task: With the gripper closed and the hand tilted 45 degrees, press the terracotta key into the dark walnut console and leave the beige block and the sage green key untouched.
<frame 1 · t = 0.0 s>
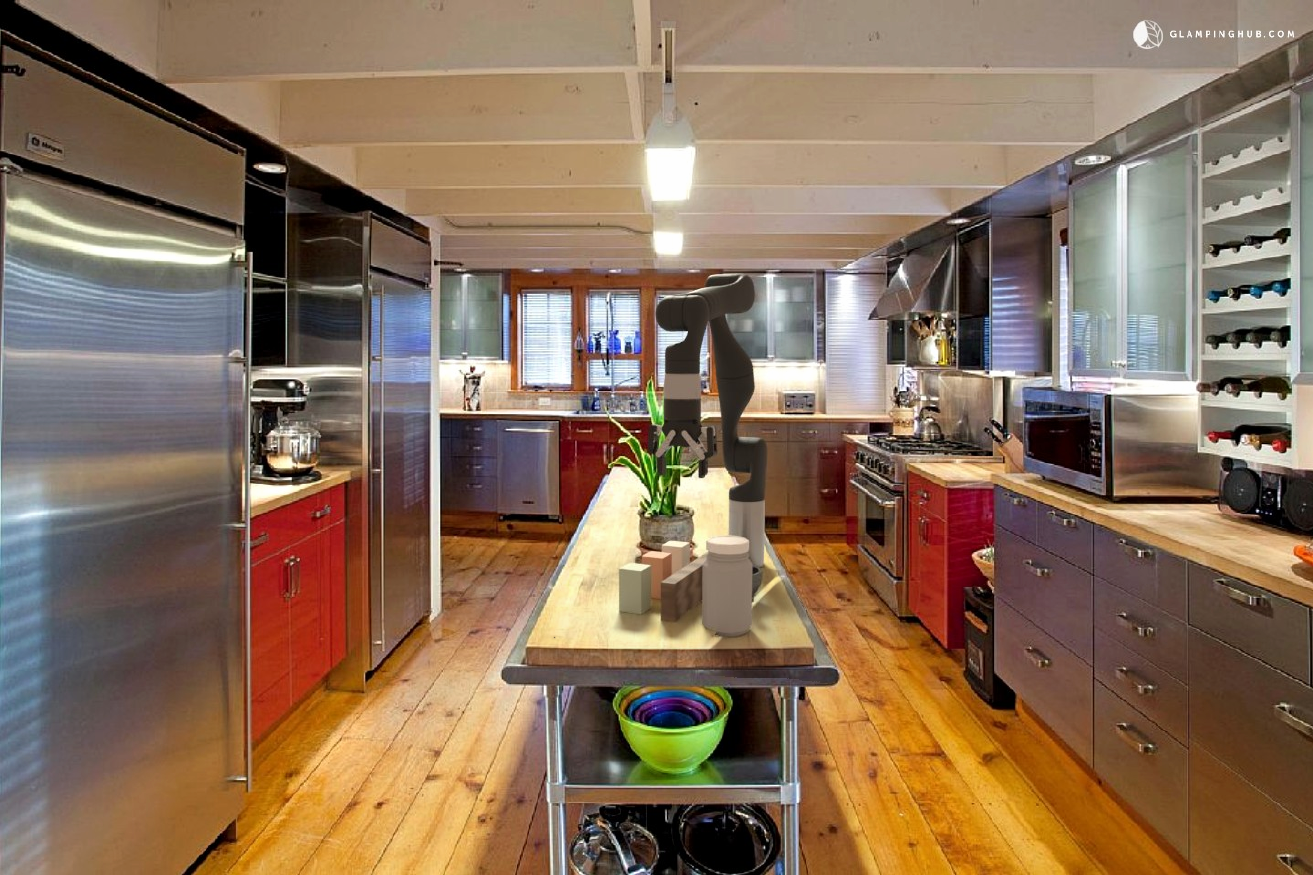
hand: (682, 476, 156), 29 cm above the table, tool pointing down, fingers open, 8 cm apart
beige block: (675, 562, 179), point 6 cm above the table, slide at 0.0 cm
terracotta key: (656, 574, 169), point 6 cm above the table, slide at 0.0 cm
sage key: (635, 588, 159), point 6 cm above the table, slide at 0.0 cm
jar: (726, 630, 151), on the table
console: (694, 605, 166), on the table
mortar and pestle: (740, 602, 169), on the table
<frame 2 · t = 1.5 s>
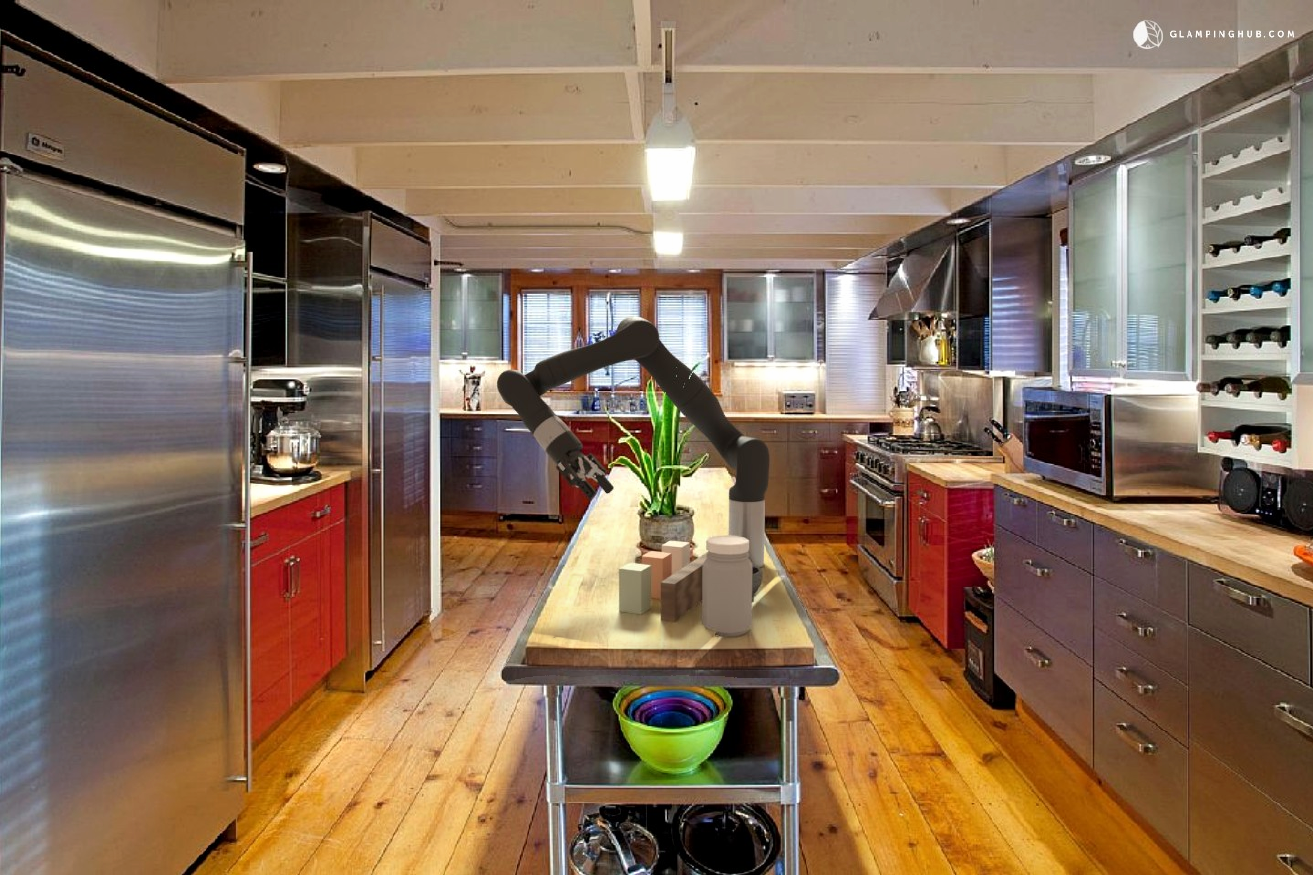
hand: (602, 493, 173), 23 cm above the table, tool tilted 45°, fingers open, 8 cm apart
nothing on the table moved.
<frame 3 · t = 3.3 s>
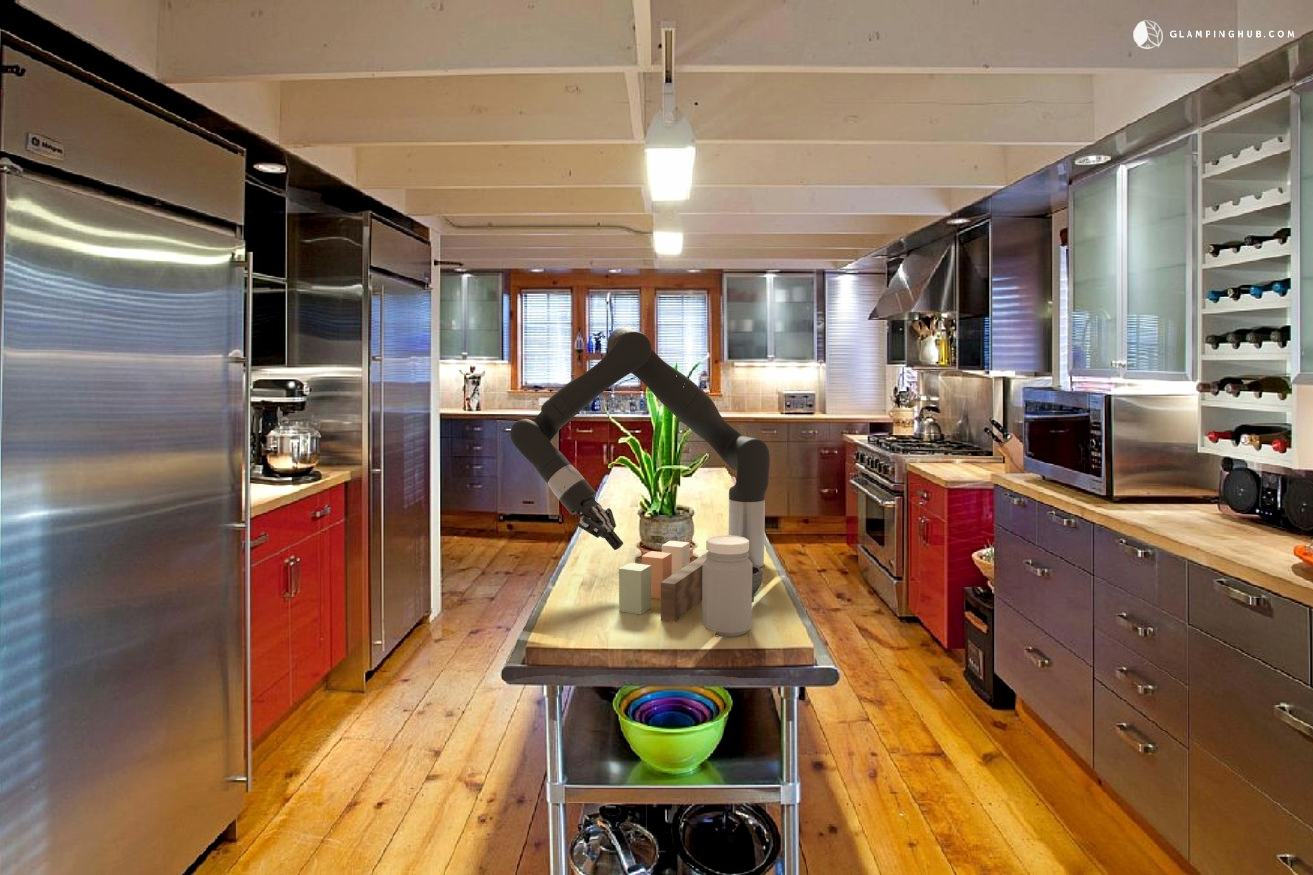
hand: (619, 547, 172), 11 cm above the table, tool tilted 45°, fingers closed
nothing on the table moved.
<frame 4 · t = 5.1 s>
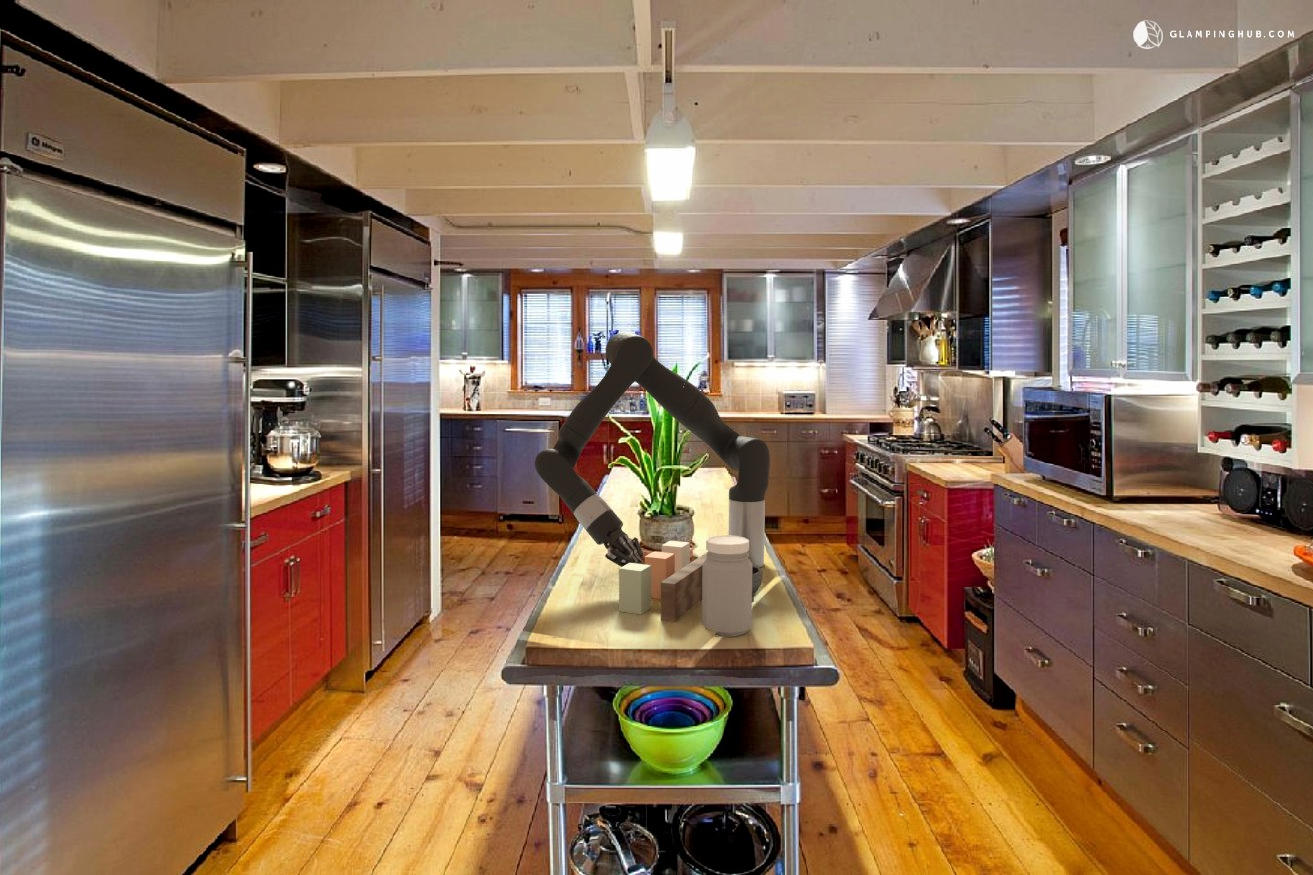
hand: (647, 577, 170), 5 cm above the table, tool tilted 45°, fingers closed
terracotta key: (659, 575, 169), point 6 cm above the table, slide at 0.8 cm, touching gripper
everything else where it was.
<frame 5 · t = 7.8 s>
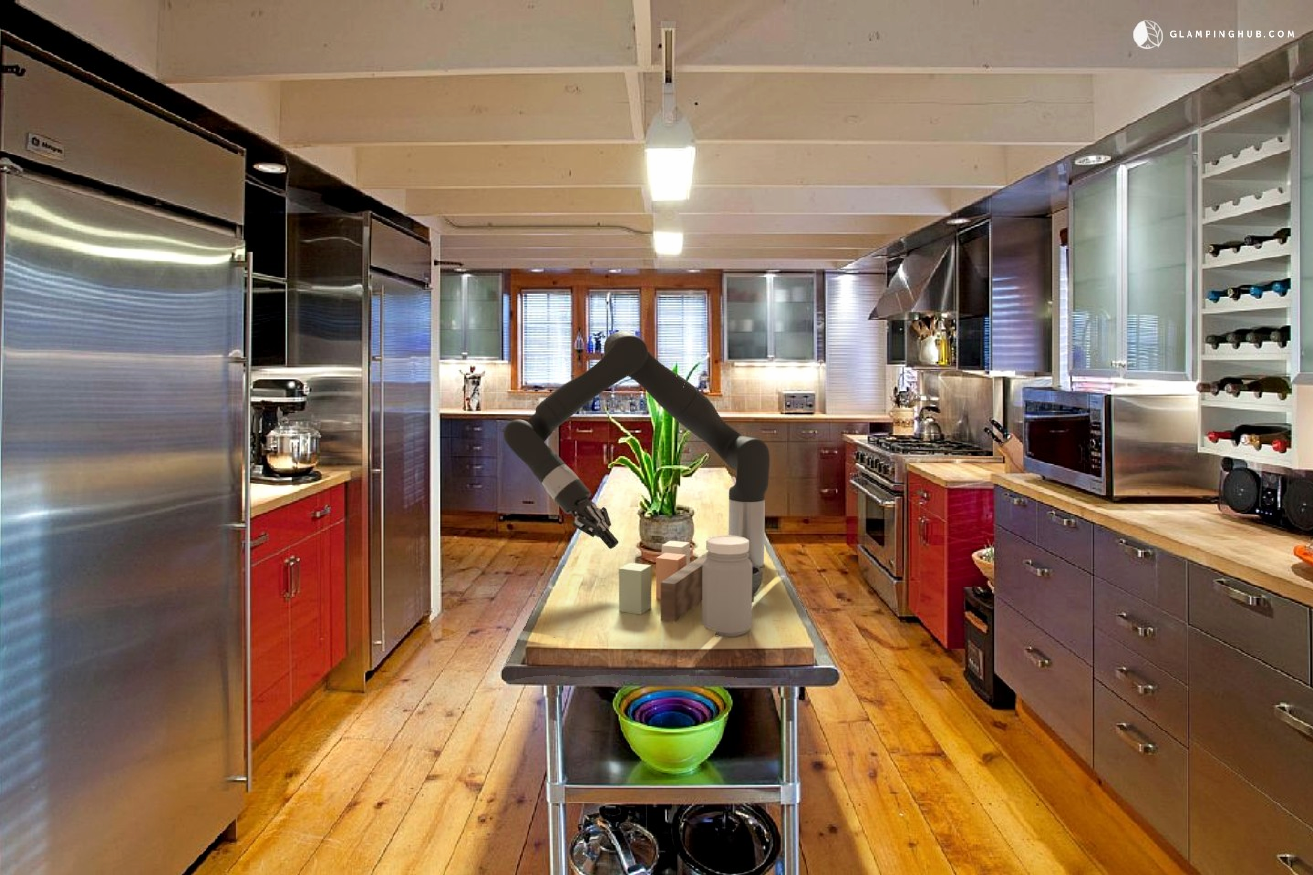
hand: (614, 545, 173), 11 cm above the table, tool tilted 45°, fingers closed
terracotta key: (671, 576, 168), point 6 cm above the table, slide at 3.5 cm
everything else where it was.
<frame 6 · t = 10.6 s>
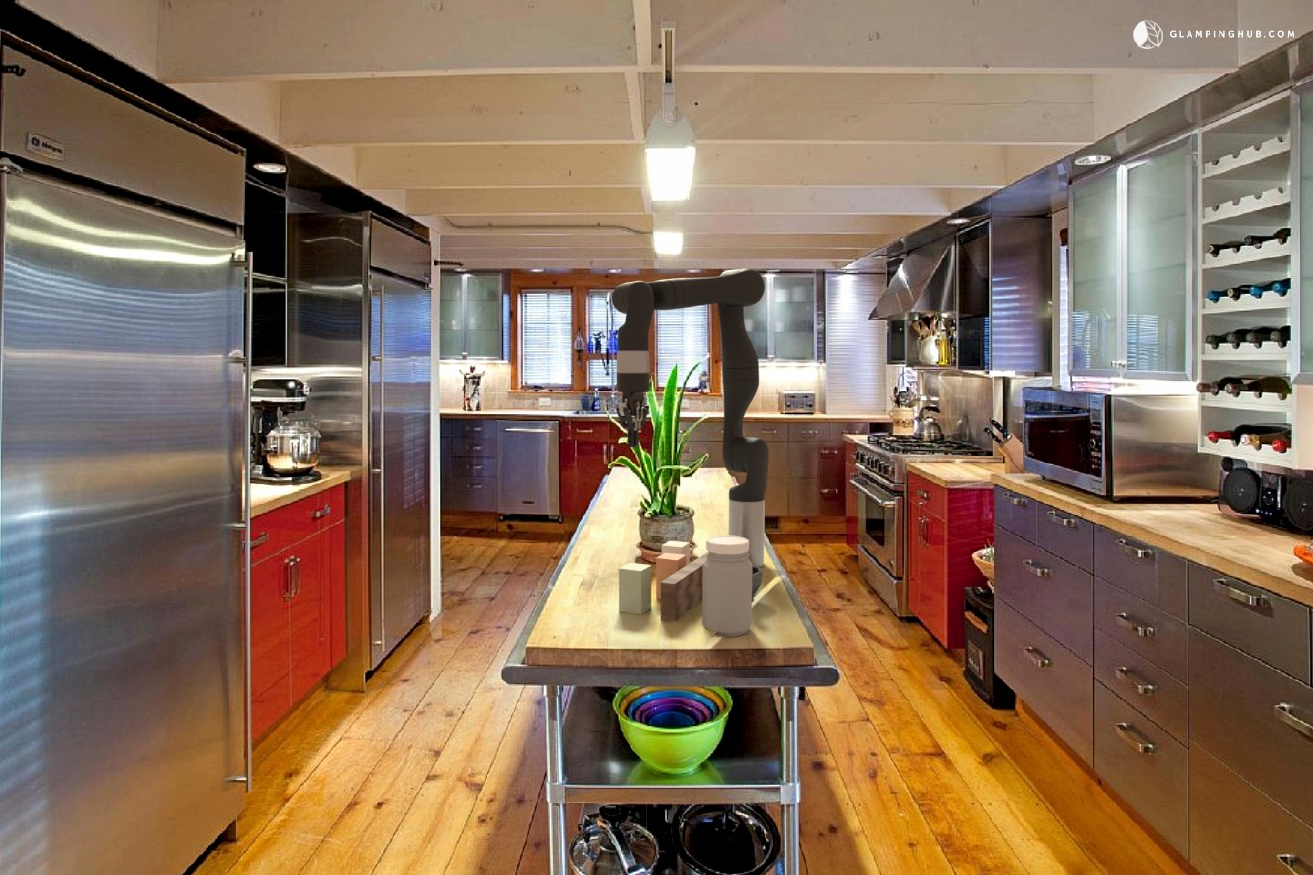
hand: (633, 446, 177), 33 cm above the table, tool pointing down, fingers closed
nothing on the table moved.
at the end: terracotta key slide at 3.5 cm; beige block slide at 0.0 cm; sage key slide at 0.0 cm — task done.
